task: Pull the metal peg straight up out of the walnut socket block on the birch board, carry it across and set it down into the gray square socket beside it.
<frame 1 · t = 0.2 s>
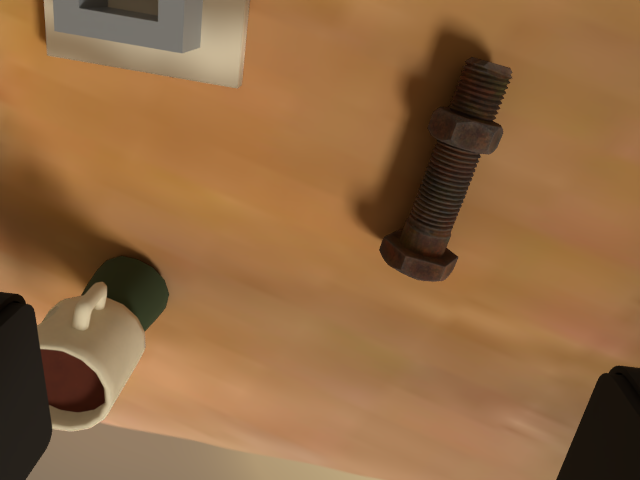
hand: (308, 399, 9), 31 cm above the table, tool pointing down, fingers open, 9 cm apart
bolt: (445, 162, 39), on the table
character mug: (135, 284, 45), on the table
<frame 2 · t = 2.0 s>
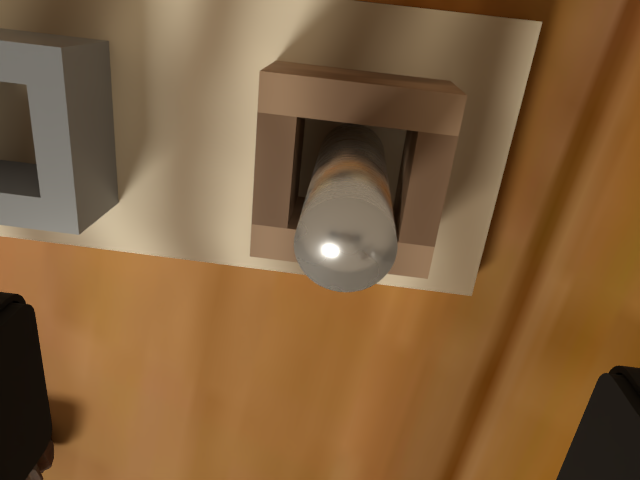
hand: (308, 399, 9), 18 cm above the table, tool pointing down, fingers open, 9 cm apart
gray square socket: (34, 117, 25), resting on socket board
socket board: (210, 130, 26), on the table
metal peg: (351, 155, 24), point 2 cm above the table, touching socket board
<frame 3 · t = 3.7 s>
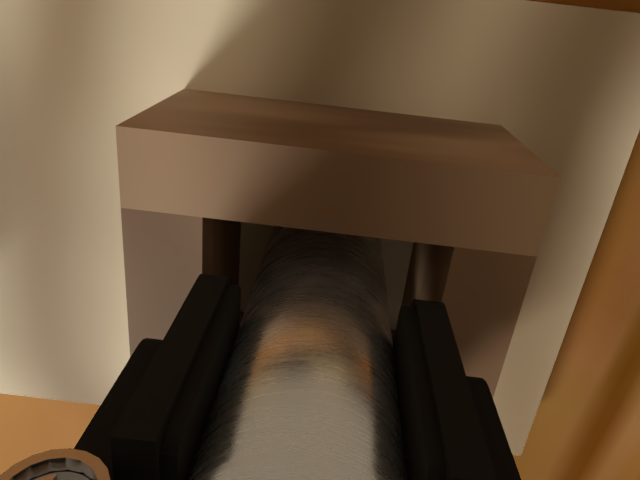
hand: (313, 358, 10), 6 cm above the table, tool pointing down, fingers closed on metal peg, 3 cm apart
socket board: (92, 199, 16), on the table
metal peg: (325, 249, 14), point 2 cm above the table, touching gripper, socket board
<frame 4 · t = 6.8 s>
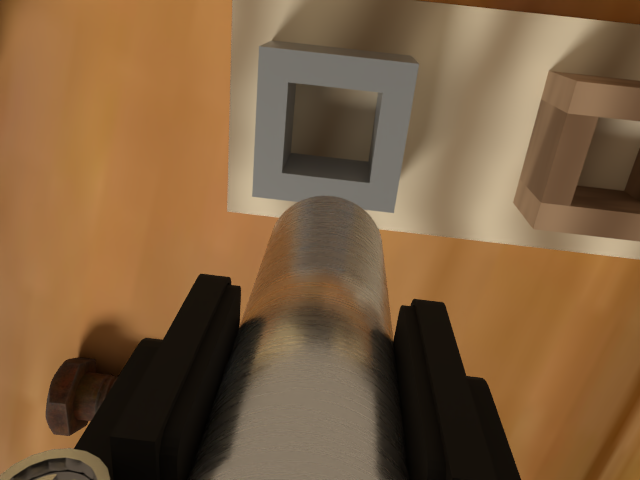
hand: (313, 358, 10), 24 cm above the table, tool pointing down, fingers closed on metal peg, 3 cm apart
bolt: (174, 382, 41), on the table
gray square socket: (333, 118, 30), resting on socket board
socket board: (468, 128, 31), on the table
metal peg: (325, 248, 14), point 19 cm above the table, touching gripper
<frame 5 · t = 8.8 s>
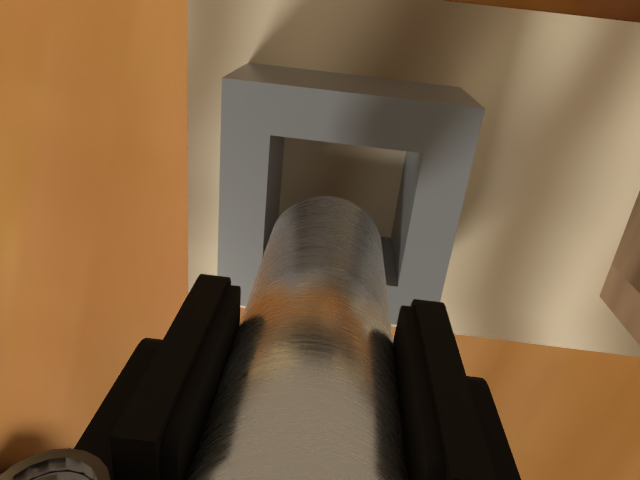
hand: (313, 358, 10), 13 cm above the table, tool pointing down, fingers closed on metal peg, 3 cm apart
gray square socket: (341, 176, 20), resting on socket board
socket board: (536, 188, 21), on the table
metal peg: (325, 248, 14), point 8 cm above the table, touching gripper
when the fingers open (8 cm above the table, at t = 10.1 s): metal peg drops 1 cm, resting on socket board.
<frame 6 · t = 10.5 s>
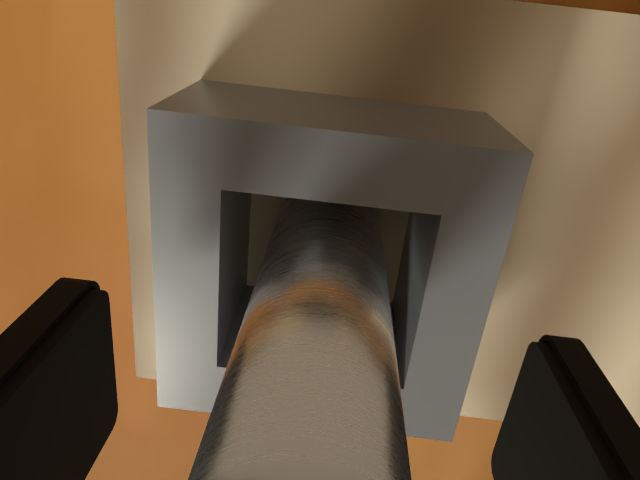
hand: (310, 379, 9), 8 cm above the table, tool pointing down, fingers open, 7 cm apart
gray square socket: (327, 227, 15), resting on socket board
socket board: (578, 237, 17), on the table
metal peg: (329, 226, 15), point 2 cm above the table, touching socket board
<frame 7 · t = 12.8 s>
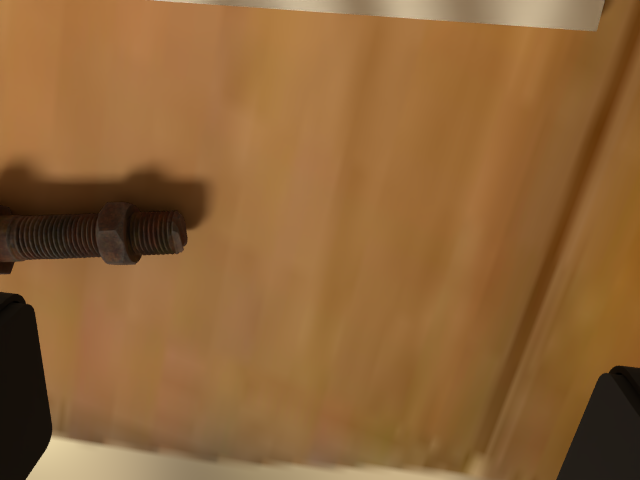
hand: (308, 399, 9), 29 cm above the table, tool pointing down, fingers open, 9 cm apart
bolt: (94, 223, 40), on the table
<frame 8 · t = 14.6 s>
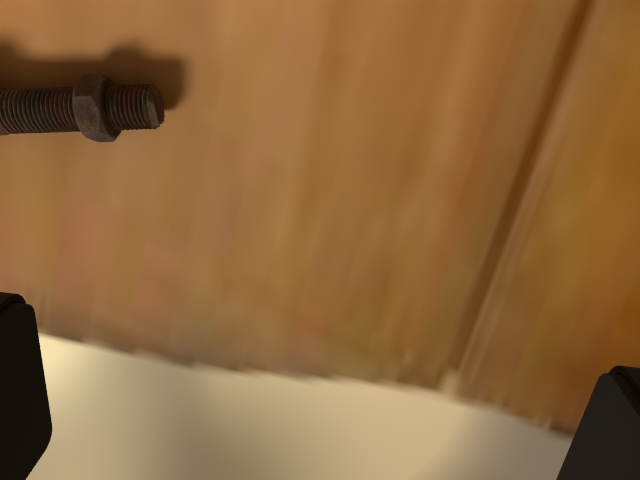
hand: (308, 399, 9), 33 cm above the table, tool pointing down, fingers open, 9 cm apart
bolt: (75, 105, 41), on the table
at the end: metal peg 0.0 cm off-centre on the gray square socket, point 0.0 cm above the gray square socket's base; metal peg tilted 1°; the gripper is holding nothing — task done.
